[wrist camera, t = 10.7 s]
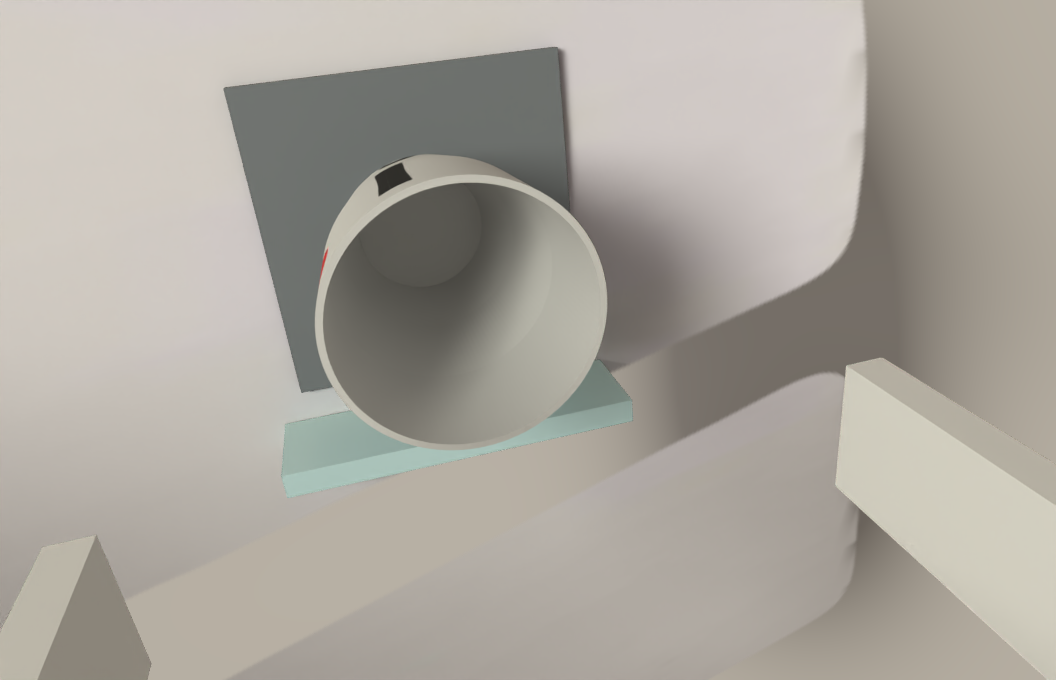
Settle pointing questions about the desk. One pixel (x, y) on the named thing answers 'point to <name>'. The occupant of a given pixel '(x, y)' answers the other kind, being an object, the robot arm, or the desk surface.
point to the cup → (456, 303)
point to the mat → (382, 153)
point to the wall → (364, 453)
